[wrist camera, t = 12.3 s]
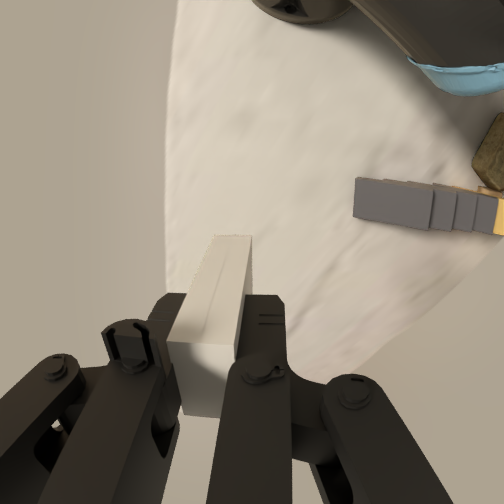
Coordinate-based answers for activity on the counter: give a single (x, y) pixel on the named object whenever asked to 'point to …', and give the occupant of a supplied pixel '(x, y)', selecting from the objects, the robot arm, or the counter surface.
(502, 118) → the stone block
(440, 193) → the domino
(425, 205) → the domino
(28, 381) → the robot arm
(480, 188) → the block
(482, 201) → the domino
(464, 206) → the domino
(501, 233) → the domino
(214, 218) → the counter surface
